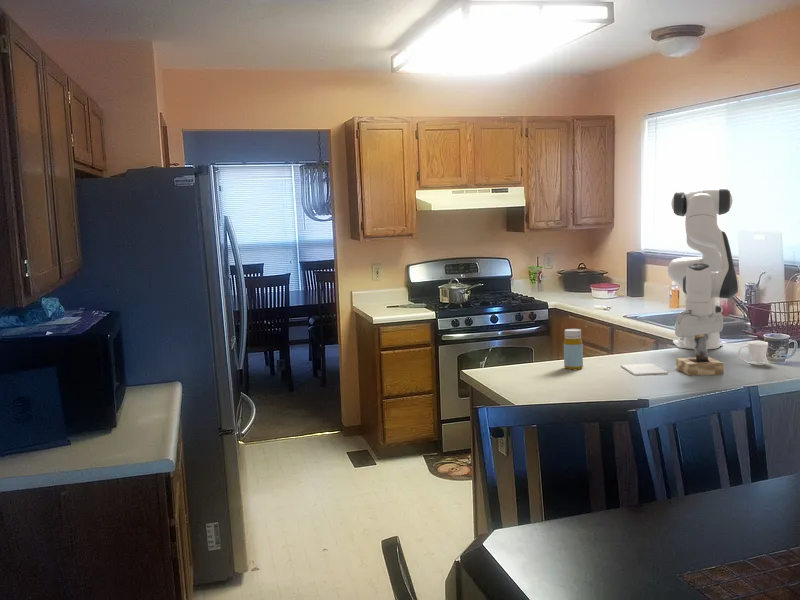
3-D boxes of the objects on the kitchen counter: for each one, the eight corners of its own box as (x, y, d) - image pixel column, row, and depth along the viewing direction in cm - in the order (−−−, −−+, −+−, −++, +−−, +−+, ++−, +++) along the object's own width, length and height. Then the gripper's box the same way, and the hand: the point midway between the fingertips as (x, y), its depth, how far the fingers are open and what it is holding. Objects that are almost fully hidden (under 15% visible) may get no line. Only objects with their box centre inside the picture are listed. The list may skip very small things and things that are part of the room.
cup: (770, 365, 248) (770, 344, 248) (740, 365, 251) (740, 344, 250) (765, 361, 255) (766, 340, 254) (736, 361, 258) (736, 340, 257)
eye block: (676, 368, 251) (676, 358, 250) (708, 367, 251) (708, 356, 250) (689, 375, 239) (689, 364, 238) (723, 374, 239) (723, 363, 238)
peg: (695, 361, 246) (690, 334, 246) (706, 360, 245) (701, 333, 246) (699, 363, 242) (694, 335, 242) (710, 361, 242) (705, 333, 242)
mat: (621, 366, 259) (621, 365, 259) (652, 365, 259) (652, 363, 259) (634, 375, 243) (634, 373, 243) (668, 374, 243) (668, 372, 243)
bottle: (581, 366, 264) (580, 328, 262) (584, 369, 257) (583, 331, 255) (563, 366, 264) (562, 328, 263) (565, 370, 258) (564, 331, 256)
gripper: (684, 313, 236) (684, 351, 237) (726, 307, 244) (726, 344, 245) (670, 311, 241) (670, 349, 243) (711, 305, 249) (711, 342, 251)
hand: (699, 346), depth 244 cm, fingers closed on peg, 4 cm apart
